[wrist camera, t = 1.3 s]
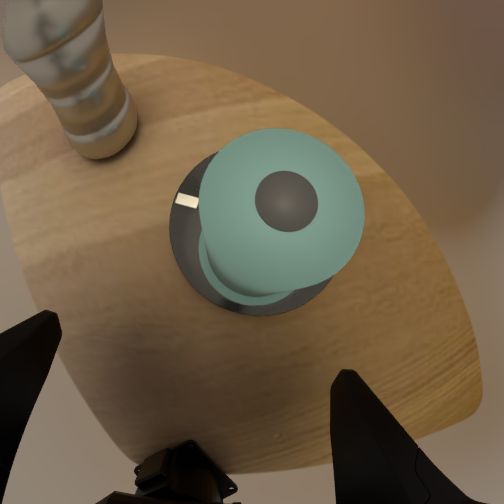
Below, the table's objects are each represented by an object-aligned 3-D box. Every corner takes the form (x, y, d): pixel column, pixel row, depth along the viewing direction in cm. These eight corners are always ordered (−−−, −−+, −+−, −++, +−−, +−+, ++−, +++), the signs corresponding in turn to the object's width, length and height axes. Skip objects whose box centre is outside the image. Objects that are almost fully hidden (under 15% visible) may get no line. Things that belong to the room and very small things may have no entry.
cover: (319, 268, 21) (408, 231, 11) (238, 325, 20) (262, 347, 9) (263, 189, 22) (302, 93, 11) (181, 240, 21) (146, 172, 10)
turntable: (369, 250, 23) (377, 247, 22) (236, 350, 21) (237, 353, 19) (277, 126, 24) (279, 117, 23) (140, 203, 22) (136, 198, 21)
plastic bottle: (66, 159, 23) (-52, 5, 4) (100, 102, 24) (33, -63, 5) (121, 175, 23) (9, -23, 4) (155, 113, 25) (112, -86, 5)
